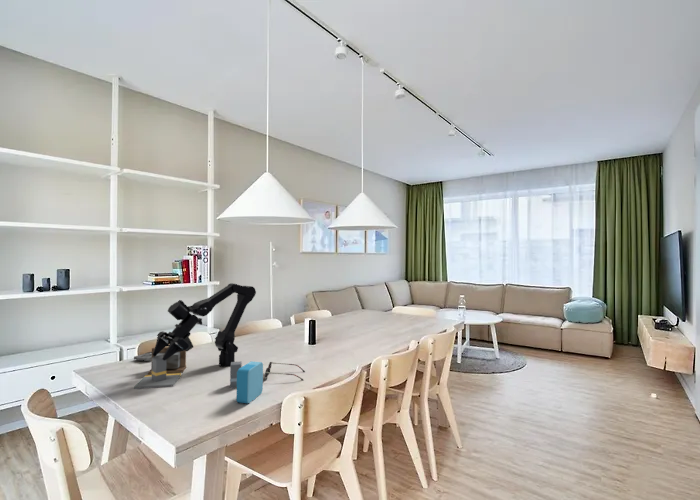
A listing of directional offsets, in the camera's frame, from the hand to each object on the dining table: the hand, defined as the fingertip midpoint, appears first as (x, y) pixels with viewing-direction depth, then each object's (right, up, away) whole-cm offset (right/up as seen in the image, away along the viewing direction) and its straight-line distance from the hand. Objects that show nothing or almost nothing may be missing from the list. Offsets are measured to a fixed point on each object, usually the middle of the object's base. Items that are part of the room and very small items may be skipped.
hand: (158, 357), depth 151 cm
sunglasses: (+51, -11, +9) cm, 53 cm away
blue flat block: (+42, -10, -16) cm, 46 cm away
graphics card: (-21, -11, +34) cm, 42 cm away
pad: (0, -10, 0) cm, 10 cm away
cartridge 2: (+33, -10, -4) cm, 35 cm away
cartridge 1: (0, -9, 0) cm, 9 cm away
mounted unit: (-3, -10, +14) cm, 17 cm away
